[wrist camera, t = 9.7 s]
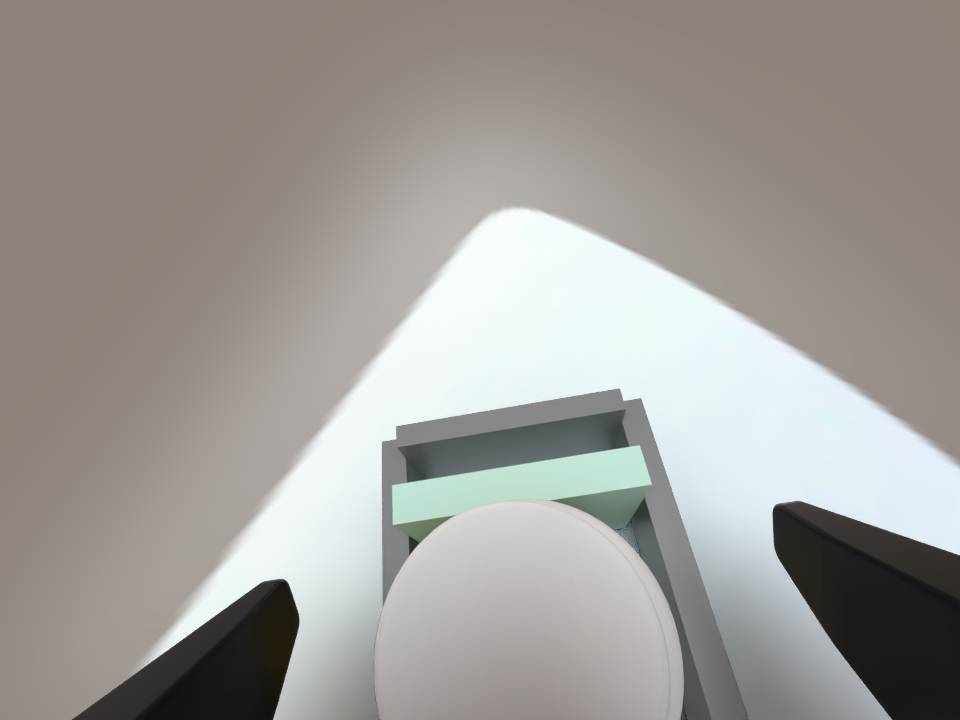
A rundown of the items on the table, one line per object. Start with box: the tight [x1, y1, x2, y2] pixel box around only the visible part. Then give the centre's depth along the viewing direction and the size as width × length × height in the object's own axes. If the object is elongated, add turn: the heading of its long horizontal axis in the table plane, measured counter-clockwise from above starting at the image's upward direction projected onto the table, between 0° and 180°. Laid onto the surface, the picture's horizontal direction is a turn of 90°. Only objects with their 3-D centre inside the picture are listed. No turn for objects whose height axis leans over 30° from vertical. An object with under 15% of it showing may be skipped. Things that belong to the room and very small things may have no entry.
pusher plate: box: [392, 445, 652, 543], centre depth 14 cm, size 1×6×5 cm, turn 97°
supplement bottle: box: [373, 499, 684, 720], centre depth 10 cm, size 5×5×10 cm
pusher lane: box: [382, 388, 749, 720], centre depth 13 cm, size 10×9×4 cm
